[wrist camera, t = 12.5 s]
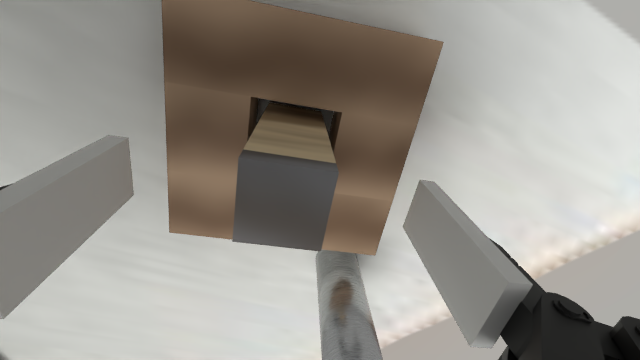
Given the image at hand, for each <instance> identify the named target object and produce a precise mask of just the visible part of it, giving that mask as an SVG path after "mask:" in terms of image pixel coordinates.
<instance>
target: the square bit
mask: <svg viewBox="0 0 640 360" xmlns="http://www.w3.org/2000/svg"><path fill="white" fill-rule="evenodd" d="M338 174H339V171H338V168H337V164H336V161H335V157H334V154H333V150H332V147H331V143H330V140H329V136H328V133H327V130H326V126H325V123H324V119H323V116H322V112H321V111H317V110H312V109H306V108H300V107H294V106H288V105H283V104H277V103H271V102H269V104H268V106H267V107H266V109H265V111H264V113H263V115H262V116H261V118H260V120H259V122H258V124H257V125H256V127H255V129H254V131H253V133H252V134H251V136H250V138H249V140H248V141H247V143H246V145H245V147H244V149H243V150H242V152H241V154H240V156H239V158H238V171H237V184H236V198H235V212H234V226H233V240H232V241H233V242H242V243H251V244H260V245H269V246H278V247H287V248H296V249H304V250H313V251H321V249H322V245H323V240H324V236H325V232H326V227H327V223H328V218H329V214H330V209H331V205H332V201H333V196H334V192H335V187H336V183H337V179H338Z"/></svg>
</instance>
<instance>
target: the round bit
mask: <svg viewBox="0 0 640 360" xmlns="http://www.w3.org/2000/svg"><path fill="white" fill-rule="evenodd" d="M316 272H317V288H318V304H319V319H320V335H321V351H322V360H383V359H382V355H381V351H380V347H379V343H378V339H377V335H376V331H375V327H374V323H373V320H372V316H371V312H370V308H369V304H368V300H367V296H366V292H365V288H364V284H363V281H362V277H361V273H360V269H359V265H358V261H357V257H356V253H349V252H340V251H331V250H322V249H321V251H318V253H317V255H316Z"/></svg>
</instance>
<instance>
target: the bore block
mask: <svg viewBox="0 0 640 360" xmlns="http://www.w3.org/2000/svg"><path fill="white" fill-rule="evenodd" d="M162 26H163V56H164V85H165V115H166V144H167V174H168V203H169V232H170V233H179V234H188V235H197V236H206V237H215V238H224V239H233V226H234V212H235V198H236V184H237V171H238V158H239V156H240V154H241V152H242V150H243V149H244V147H245V145H246V143H247V141H248V140H249V138H250V136H251V134H252V133H253V131H254V129H255V127H256V119H257V108H258V98H262V99H268V100H273V101H279V102H285V103H291V104H296V105H302V106H308V107H314V108H319V109H325V110H331V111H334V113H333V118H332V123H331V128H330V133H329V140H330V143H331V147H332V150H333V154H334V157H335V161H336V164H337V168H338V171H339V174H338V179H337V183H336V187H335V192H334V196H333V201H332V205H331V209H330V214H329V218H328V223H327V227H326V232H325V236H324V240H323V245H322V250H331V251H340V252H349V253H358V254H366V255H375V254H376V251H377V248H378V245H379V241H380V238H381V235H382V232H383V229H384V226H385V223H386V220H387V217H388V214H389V210H390V207H391V204H392V201H393V198H394V195H395V192H396V189H397V186H398V182H399V179H400V176H401V173H402V170H403V167H404V164H405V161H406V158H407V155H408V151H409V148H410V145H411V142H412V139H413V136H414V133H415V130H416V127H417V123H418V120H419V117H420V114H421V111H422V108H423V105H424V102H425V99H426V95H427V92H428V89H429V86H430V83H431V80H432V77H433V74H434V71H435V68H436V64H437V61H438V58H439V55H440V52H441V49H442V46H443V43H444V42H441V41H437V40H432V39H427V38H423V37H418V36H413V35H409V34H404V33H399V32H395V31H390V30H385V29H381V28H376V27H371V26H367V25H362V24H357V23H353V22H348V21H343V20H339V19H334V18H329V17H325V16H320V15H315V14H311V13H306V12H301V11H297V10H292V9H287V8H283V7H278V6H273V5H269V4H264V3H259V2H255V1H250V0H162Z"/></svg>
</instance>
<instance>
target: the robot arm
mask: <svg viewBox="0 0 640 360" xmlns="http://www.w3.org/2000/svg"><path fill="white" fill-rule="evenodd" d="M133 195H134V193H133V182H132V172H131V161H130V151H129V141H128V138H126V137H119V136H112V135H108V136H106V137H104V138H102V139H100V140H98V141H96V142H94V143H92V144H90V145H88V146H86V147H84V148H82V149H80V150H78V151H76V152H74V153H72V154H70V155H68V156H66V157H65V158H63V159H61V160H59V161H57V162H55V163H53V164H51V165H49V166H47V167H45V168H43V169H41V170H39V171H37V172H35V173H33V174H31V175H29V176H27V177H25V178H23V179H21V180H19V181H17V182H16V183H13V184H10V185H7V186H3V187H0V319H4V318H5V317H6V316H7V315H8V314H9V313H11V312H12V311H13V310H14V309H15V308H16V307H17V306H18V305H19V304H20V303H21V302H22V301H23V300H24V299H25V298H26V297H27V296H28V295H29V294H30V293H31V292H33V291H34V290H35V289H36V288H37V287H38V286H39V285H40V284H41V283H42V282H43V281H44V280H45V279H46V278H47V277H48V276H49V275H50V274H51V273H52V272H54V271H55V270H56V269H57V268H58V267H59V266H60V265H61V264H62V263H63V262H64V261H65V260H66V259H67V258H68V257H69V256H70V255H71V254H72V253H73V252H74V251H76V250H77V249H78V248H79V247H80V246H81V245H82V244H83V243H84V242H85V241H86V240H87V239H88V238H89V237H90V236H91V235H92V234H93V233H94V232H95V231H96V230H98V229H99V228H100V227H101V226H102V225H103V224H104V223H105V222H106V221H107V220H108V219H109V218H110V217H111V216H112V215H113V214H114V213H115V212H116V211H117V210H119V209H120V208H121V207H122V206H123V205H124V204H125V203H126V202H127V201H128V200H129V199H130V198H131V197H132V196H133ZM403 228H404V230H405V232H406V233H407V235H408V237H409V239H410V240H411V242H412V244H413V246H414V248H415V249H416V251H417V253H418V255H419V257H420V258H421V260H422V262H423V264H424V266H425V267H426V269H427V271H428V273H429V274H430V276H431V278H432V280H433V282H434V283H435V285H436V287H437V289H438V291H439V292H440V294H441V296H442V298H443V300H444V301H445V303H446V305H447V307H448V308H449V310H450V312H451V314H452V316H453V317H454V319H455V321H456V323H457V325H458V326H459V328H460V330H461V332H462V333H463V335H464V337H465V339H466V340H467V342H468V344H469V346H470V347H478V348H492V347H493V346H494V344H495V342H496V341H497V339H498V338H499V336H500V335H501V336H502V338H503V339H504V341H505V342H506V344H507V345H508V346H507V347H506V349H505V350H504V352H503V353H502V355H501V356H500V358H499V359H498V360H640V319H637V318H633V317H629V316H626V317H622V318H621V319H620V320H619V322H618V323H617V324H616V325H615V326H614V327H611V326H608V325H605V324H602V323H599V322H596V321H594V319H593V317H592V316H591V315H590V314H589V313H588V312H587V311H586V310H584V309H583V308H582V307H581V306H579V305H578V304H577V303H575V302H573V301H572V300H570V299H568V298H566V297H564V296H561V295H559V294H556V293H550V292H547V293H546V292H545V291H544V290H543V289H542V288H541V287H540V286H539V285H538V284H537V283H536V282H535V281H534V280H533V279H532V278H531V276H530V275H529V274H528V273H527V272H526V271H525V270H524V269H523V268H522V267H521V266H518V263H517V262H516V261H515V260H514V259H513V258H511V256H510V255H509V254H508V253H507V252H506V251H505V250H504V249H503V248H502V247H501V246H500V245H498V244H497V243H495V242H494V241H492V240H491V239H489V238H488V237H487V236H486V235H485V234H484V233H483V232H482V231H481V230H480V229H479V228H478V227H477V226H476V225H475V224H474V222H473V221H472V220H471V219H470V218H469V217H468V216H467V215H466V214H465V213H464V212H463V211H462V210H461V209H460V208H459V207H458V206H457V205H456V204H455V203H454V202H453V201H452V199H451V198H450V197H449V196H448V195H447V194H446V193H445V192H444V191H443V190H442V189H441V188H440V187H439V186H438V185H437V184H436V183H435V182H433V181H426V180H420V181H419V183H418V186H417V189H416V192H415V195H414V197H413V200H412V203H411V206H410V208H409V211H408V214H407V217H406V219H405V222H404V225H403Z"/></svg>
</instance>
